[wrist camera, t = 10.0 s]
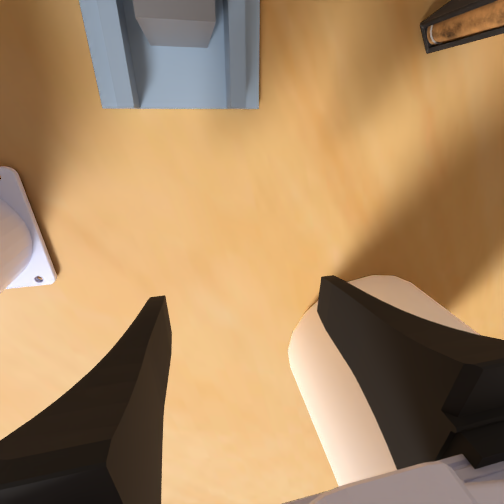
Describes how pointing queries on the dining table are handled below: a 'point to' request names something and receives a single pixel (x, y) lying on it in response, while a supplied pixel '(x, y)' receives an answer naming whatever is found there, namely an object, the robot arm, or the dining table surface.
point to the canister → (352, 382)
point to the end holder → (174, 60)
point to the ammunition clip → (462, 23)
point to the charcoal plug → (176, 21)
